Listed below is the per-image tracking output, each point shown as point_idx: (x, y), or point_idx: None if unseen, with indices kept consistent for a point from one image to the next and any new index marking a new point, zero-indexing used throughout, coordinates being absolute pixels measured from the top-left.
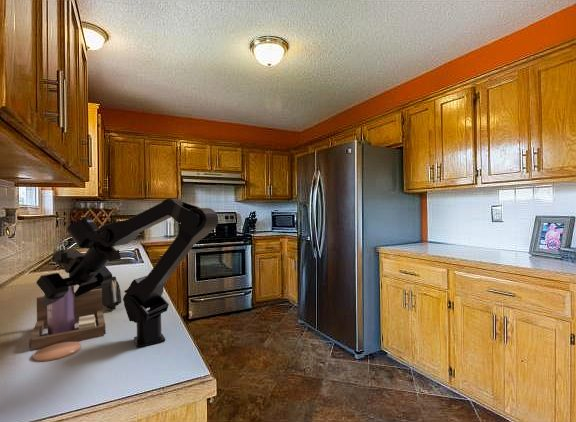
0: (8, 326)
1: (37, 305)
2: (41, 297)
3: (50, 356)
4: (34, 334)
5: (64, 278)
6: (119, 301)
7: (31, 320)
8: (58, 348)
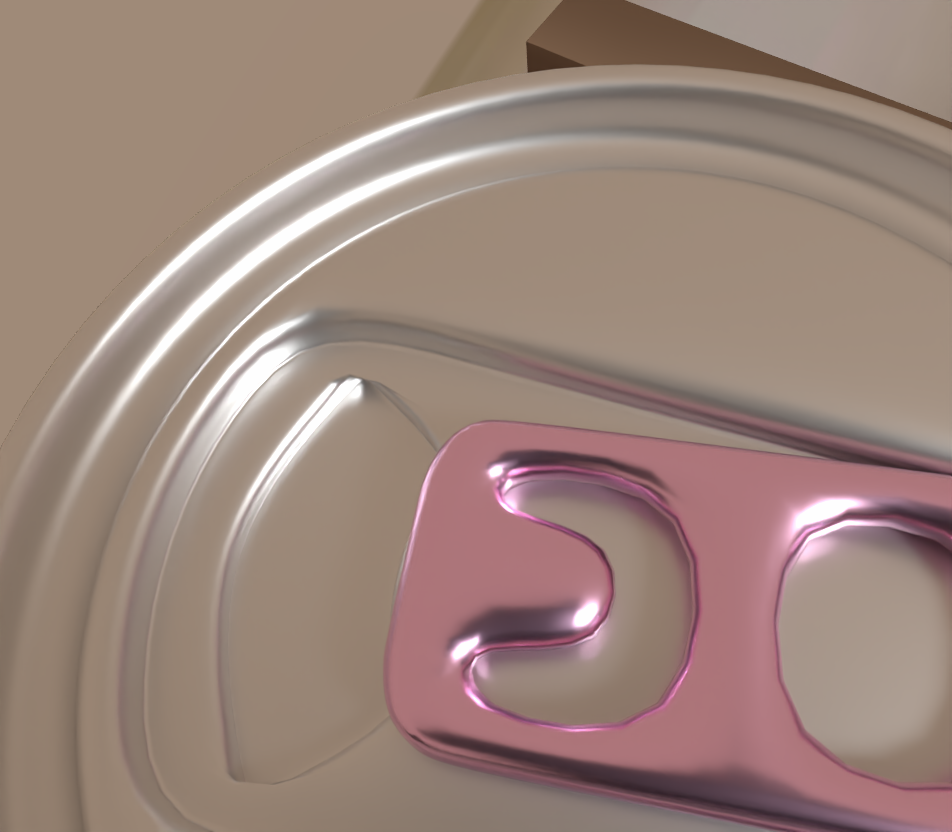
0: (499, 16)
1: None
2: (591, 61)
3: None
4: None
5: (929, 523)
6: None
7: (682, 18)
8: None
